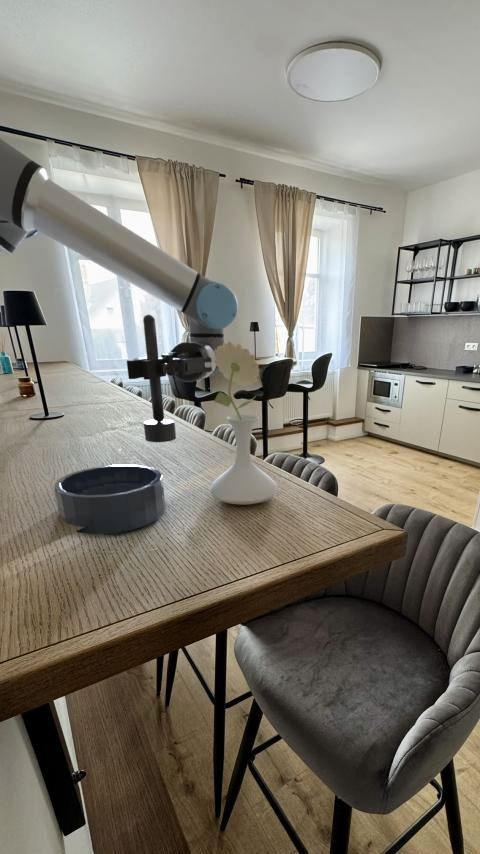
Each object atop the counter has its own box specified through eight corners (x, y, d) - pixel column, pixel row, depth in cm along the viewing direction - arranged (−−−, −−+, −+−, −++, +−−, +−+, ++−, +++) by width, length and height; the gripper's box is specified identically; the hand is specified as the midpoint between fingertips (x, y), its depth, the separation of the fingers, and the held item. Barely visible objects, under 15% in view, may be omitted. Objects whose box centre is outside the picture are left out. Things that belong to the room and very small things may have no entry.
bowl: (39, 524, 59) (30, 485, 57) (117, 493, 72) (112, 460, 69) (113, 547, 54) (106, 504, 51) (184, 508, 66) (181, 472, 63)
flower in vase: (291, 500, 70) (294, 342, 60) (234, 517, 63) (229, 342, 54) (246, 480, 79) (244, 341, 70) (193, 493, 72) (182, 340, 63)
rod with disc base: (138, 440, 71) (123, 314, 64) (159, 434, 76) (147, 315, 68) (162, 443, 69) (149, 313, 62) (182, 437, 74) (172, 315, 66)
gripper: (228, 381, 85) (185, 396, 63) (160, 379, 87) (96, 393, 65) (227, 342, 82) (181, 344, 60) (156, 341, 84) (89, 343, 63)
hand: (137, 370), depth 63 cm, fingers closed on rod with disc base, 2 cm apart
